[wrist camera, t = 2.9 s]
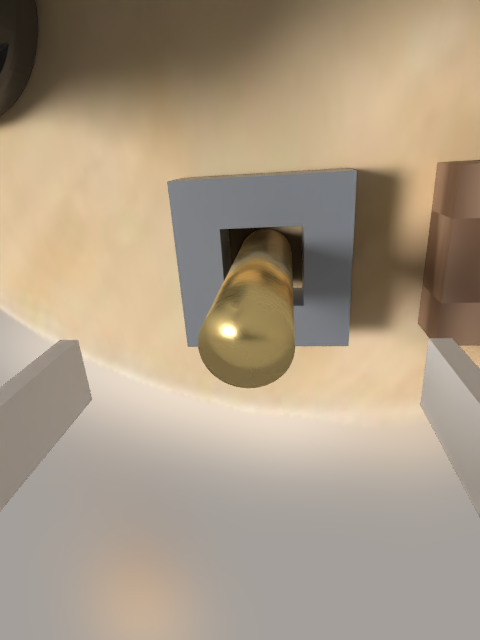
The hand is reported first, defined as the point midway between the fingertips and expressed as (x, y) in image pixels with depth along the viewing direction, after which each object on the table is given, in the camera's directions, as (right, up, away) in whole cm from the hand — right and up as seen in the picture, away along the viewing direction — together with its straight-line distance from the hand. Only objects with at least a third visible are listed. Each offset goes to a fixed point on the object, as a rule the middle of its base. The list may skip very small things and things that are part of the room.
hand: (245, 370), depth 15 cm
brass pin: (+2, +7, +16) cm, 18 cm away
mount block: (+2, +7, +16) cm, 18 cm away
